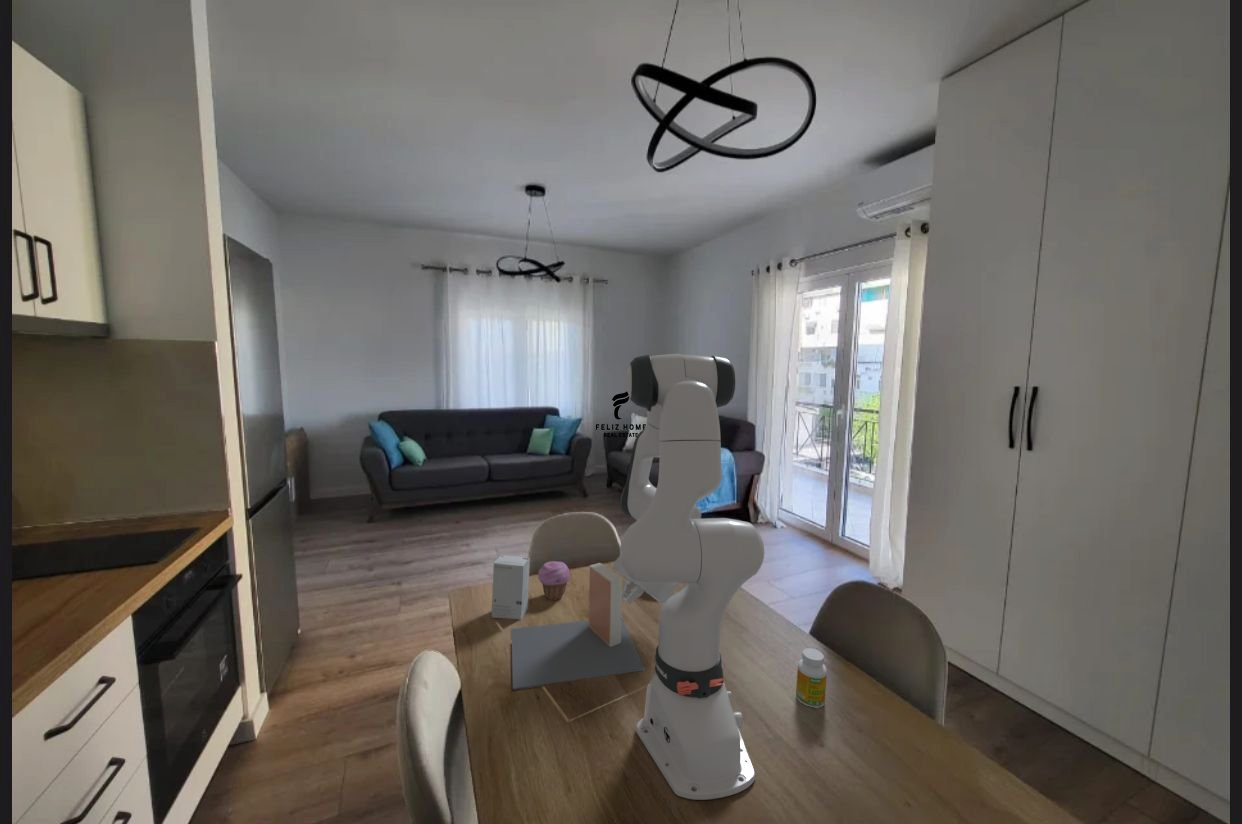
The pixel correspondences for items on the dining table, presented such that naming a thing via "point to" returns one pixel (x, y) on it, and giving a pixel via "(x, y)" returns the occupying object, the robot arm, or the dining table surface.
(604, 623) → the plain white box
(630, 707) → the dining table surface
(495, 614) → the skincare box
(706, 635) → the robot arm
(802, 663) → the supplement bottle
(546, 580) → the cupcake
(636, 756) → the dining table surface
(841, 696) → the dining table surface
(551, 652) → the slate mat
